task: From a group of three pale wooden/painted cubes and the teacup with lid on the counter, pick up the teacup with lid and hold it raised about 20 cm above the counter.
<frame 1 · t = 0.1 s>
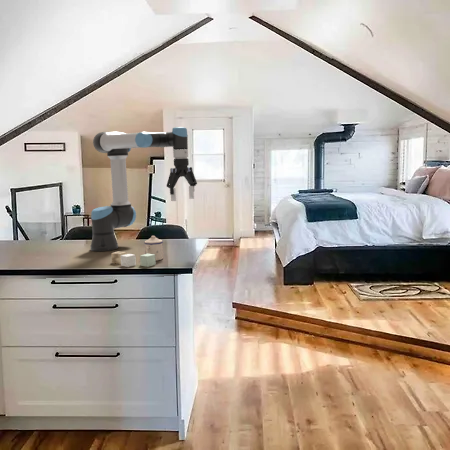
hand: (182, 199, 265), 28 cm above the countertop, fingers open, 13 cm apart
maple cube: (119, 262, 251), on the countertop
white painted cube: (128, 265, 244), on the countertop
teacup with lid: (153, 260, 255), on the countertop
sage painted cube: (148, 265, 243), on the countertop
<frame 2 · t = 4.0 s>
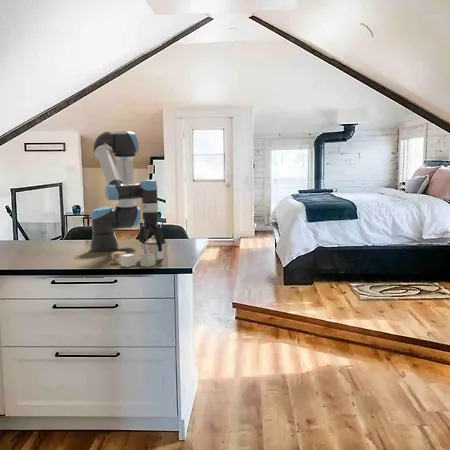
hand: (152, 256, 255), 1 cm above the countertop, fingers closed on teacup with lid, 8 cm apart
teacup with lid: (153, 260, 255), on the countertop, touching gripper
everything else where it was.
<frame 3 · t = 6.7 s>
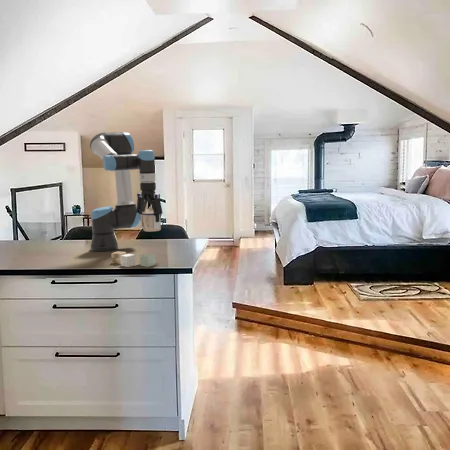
hand: (150, 227, 255), 16 cm above the countertop, fingers closed on teacup with lid, 8 cm apart
teacup with lid: (150, 231, 255), point 14 cm above the countertop, touching gripper
everything else where it was.
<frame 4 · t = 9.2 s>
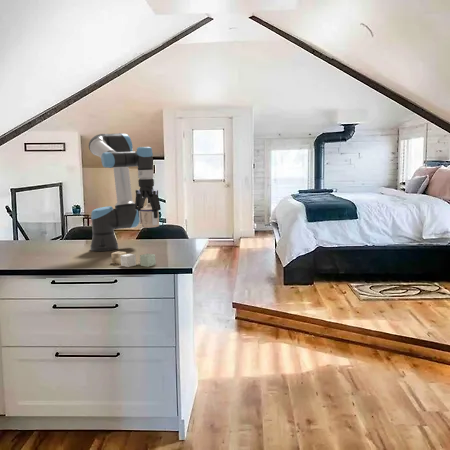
hand: (148, 224, 257), 17 cm above the countertop, fingers closed on teacup with lid, 8 cm apart
teacup with lid: (149, 227, 257), point 16 cm above the countertop, touching gripper
everything else where it was.
at the end: the gripper is holding teacup with lid; teacup with lid point 15.7 cm above the countertop; sage painted cube moved 0.1 cm from its start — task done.
